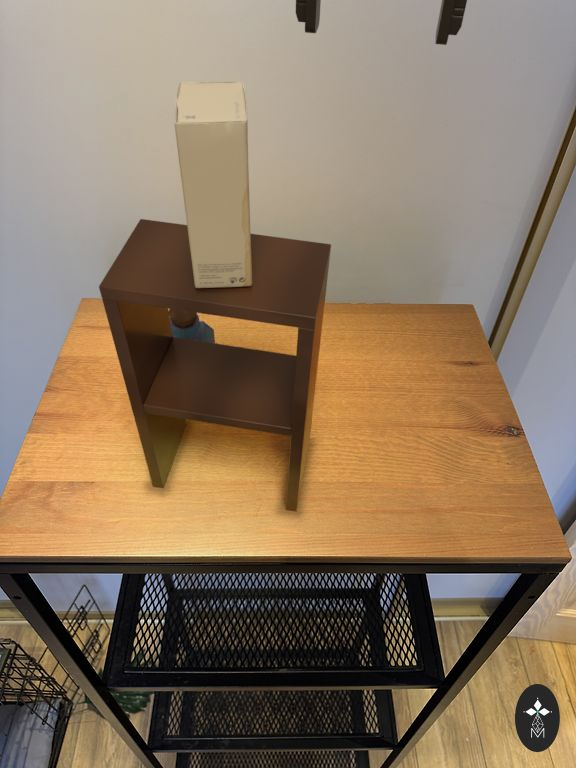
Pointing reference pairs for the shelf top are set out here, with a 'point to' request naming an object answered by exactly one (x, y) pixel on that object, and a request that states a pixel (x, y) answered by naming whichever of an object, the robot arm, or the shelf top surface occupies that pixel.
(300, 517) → the shelf top surface
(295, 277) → the walnut shelf
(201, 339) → the perfume bottle
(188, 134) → the cosmetic box
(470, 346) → the shelf top surface
